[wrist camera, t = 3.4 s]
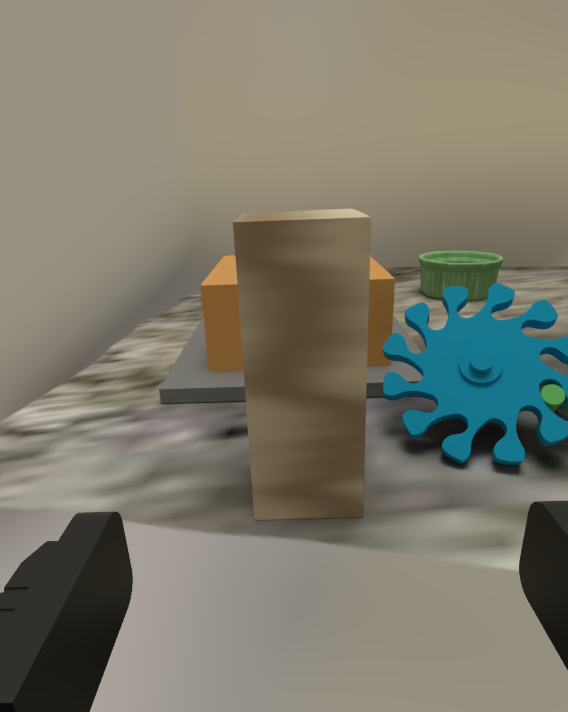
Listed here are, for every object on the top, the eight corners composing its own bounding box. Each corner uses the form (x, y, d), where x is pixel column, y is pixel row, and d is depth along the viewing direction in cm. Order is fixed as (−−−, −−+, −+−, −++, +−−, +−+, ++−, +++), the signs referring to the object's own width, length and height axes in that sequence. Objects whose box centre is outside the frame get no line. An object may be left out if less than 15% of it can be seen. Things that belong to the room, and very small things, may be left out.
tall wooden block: (349, 457, 24) (353, 208, 19) (362, 517, 19) (371, 216, 15) (260, 459, 24) (244, 212, 19) (254, 520, 20) (233, 222, 15)
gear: (352, 421, 24) (412, 260, 27) (364, 449, 29) (413, 311, 32) (603, 504, 19) (640, 302, 22) (565, 519, 25) (599, 353, 28)
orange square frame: (386, 316, 47) (389, 245, 44) (442, 394, 30) (452, 286, 27) (206, 322, 47) (199, 252, 45) (161, 403, 30) (146, 297, 28)
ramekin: (410, 300, 53) (413, 261, 51) (423, 284, 61) (425, 249, 59) (497, 306, 49) (502, 264, 48) (498, 288, 57) (503, 251, 55)
